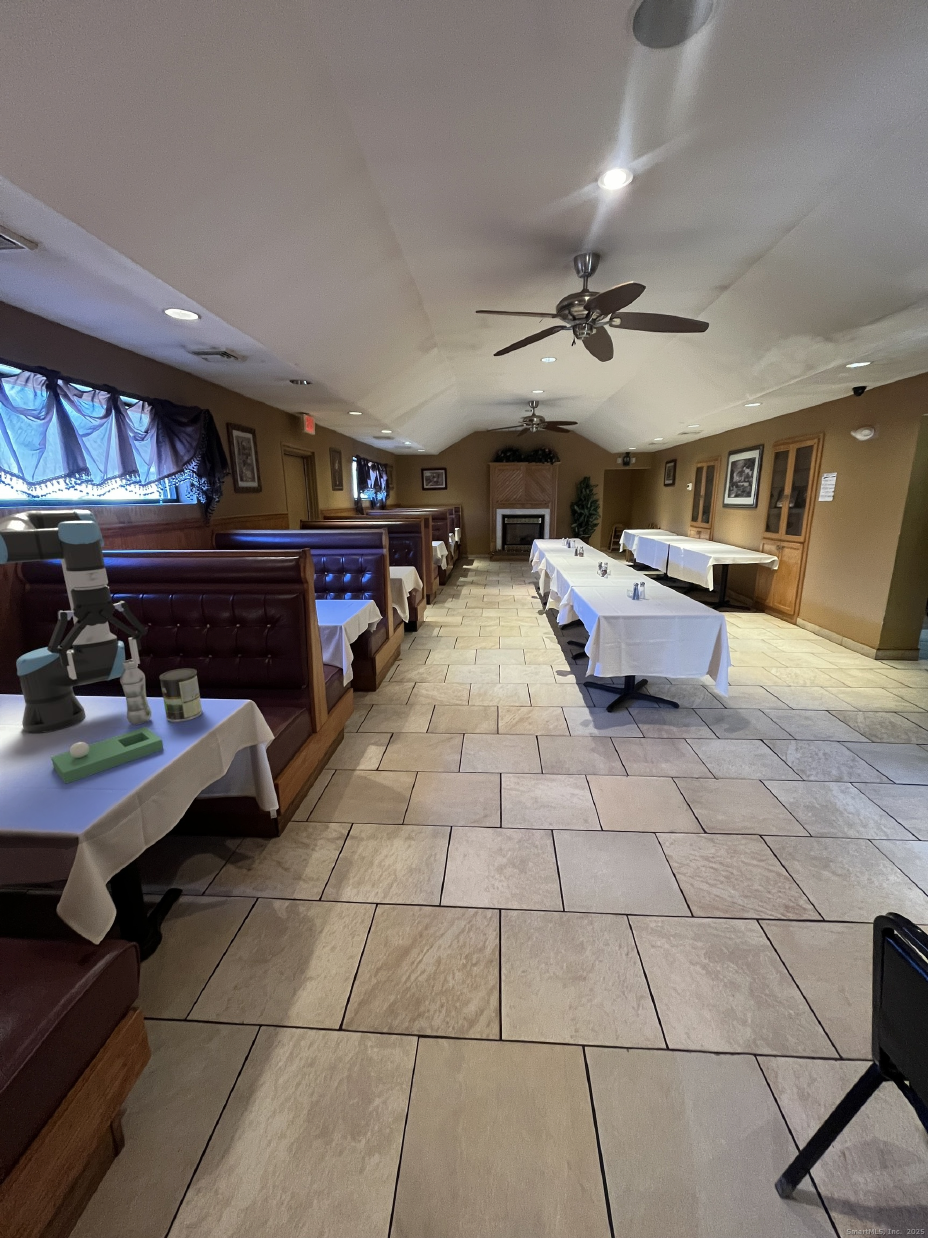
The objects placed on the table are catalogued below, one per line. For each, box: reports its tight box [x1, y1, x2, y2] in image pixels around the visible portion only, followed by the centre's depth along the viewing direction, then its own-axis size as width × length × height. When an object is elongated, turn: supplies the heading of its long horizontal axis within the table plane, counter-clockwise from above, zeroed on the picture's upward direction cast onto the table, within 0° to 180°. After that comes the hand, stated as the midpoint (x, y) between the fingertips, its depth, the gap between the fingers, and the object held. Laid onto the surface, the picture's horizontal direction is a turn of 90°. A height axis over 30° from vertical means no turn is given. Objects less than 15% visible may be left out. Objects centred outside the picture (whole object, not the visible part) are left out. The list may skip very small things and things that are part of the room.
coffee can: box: [158, 667, 203, 723], centre depth 158 cm, size 10×10×14 cm
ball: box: [69, 741, 89, 758], centre depth 128 cm, size 4×4×4 cm
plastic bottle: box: [119, 659, 152, 725], centre depth 152 cm, size 6×7×20 cm
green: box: [50, 726, 164, 785], centre depth 133 cm, size 12×22×3 cm, turn 140°
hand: (106, 670), depth 124 cm, fingers open, 13 cm apart
